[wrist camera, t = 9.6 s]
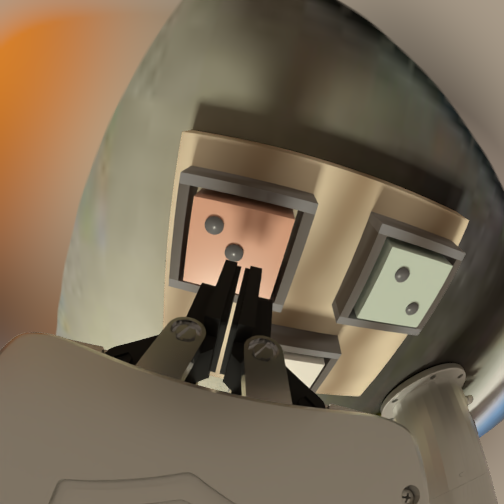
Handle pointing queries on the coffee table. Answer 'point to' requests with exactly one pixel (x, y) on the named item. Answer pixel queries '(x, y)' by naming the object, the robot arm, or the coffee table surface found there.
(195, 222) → the tile terracotta
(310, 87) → the coffee table surface
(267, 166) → the tile board
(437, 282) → the tile sage
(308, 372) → the tile cream
